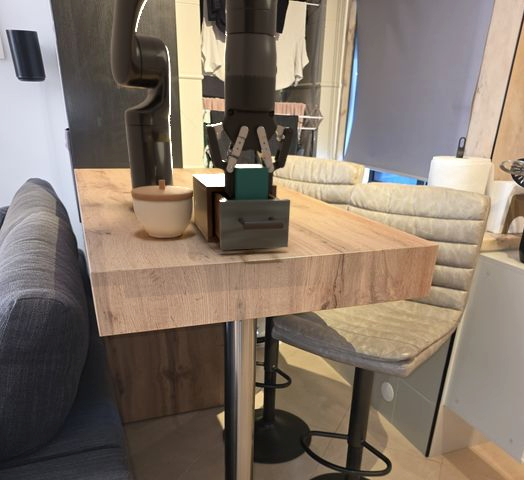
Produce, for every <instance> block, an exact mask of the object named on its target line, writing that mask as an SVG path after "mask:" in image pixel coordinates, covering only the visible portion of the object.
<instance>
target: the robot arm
mask: <svg viewBox="0 0 524 480" xmlns="http://www.w3.org/2000/svg"><path fill="white" fill-rule="evenodd" d="M278 1H279V0H225V35H226V36H225V44H224V54H223V55H224V56H223V63H224V65H223V69H224V72H223V74H224V75H223V76H224V113H223V118H222V119H221V120H222V121H221V122H220V123H216V124H207V125H205V126H204V129H203V131H204V135H205V139H206V144H207V147H208V151H209V155H210V160H211V164H212V166H214V167H215V168H217V169H220V170H222V171H223V174H224V185H225V186H224V189H225V192H226V193H227V194H228V195H229V197H230V198H235V173H234V168H235V165H236V164H237V162H238V160H239V158H240V155H241V153H242V152H247V151H250V150H251V151H254V152H257V155H258V157H259V160H260V164H261V165H263V166H265V167H267V168H269V172H268V197H269V193H271V192H272V190H273V184H274V173H275V171H277V170H279V169H283V168H285V166H286V164H287V163H286V162H287V160H288V155H289V152H290V148H291V145H292V140H293V136H294V132H295V131H294V128H293V127H289V126H282V125H279V124H278V122H277V120H276V116H275V112H276V91H277V90H276V89H277V75H278V66H277V65H278V55H277V38H276V37H277V18H278V17H277V16H278V15H277V14H278ZM146 2H147V0H114V7H113V8H114V9H113V20H112V29H111V37H110V39H111V41H110V70H111V74H112V77H113V80H114V81H115V83H116V84H117V85H118V86H119V87H122V88H129V89H144V90H145V89H146V90H147V96H146V97H145V99H144V100H143V101H142V102H140V103H138V104H137V105H135V106H132V107H129V108H127V109H125V111H124V124H125V134H126V142H127V143H126V144H127V152H128V161H129V172H130V182H131V183H130V184H131V190H132V189H135V188H138V187H145V186H159V180H165V186H174V173H173V156H172V154H173V153H172V141H171V140H172V139H171V126H170V125H171V124H170V121H171V120H170V118H171V117H170V115H171V63H170V55H169V50H168V47H167V45H166V42H165V41H164V39H163V38H161V37H159V36H154V35H148V34H139V33H137V30H138V29H137V28H138V23H139V20H140V16H141V14H142V10H143V9H144V6H145V4H146ZM222 132H224V134H225V135H226V137H227V139H228V140H229V145H228V148H227V152H226V157H225V160H223V158H222V154H221V150H220V145H219V140H221V137H222ZM275 134H276V140H277V141H278V143H277V147H276V150H275V154H274V157H273V158H274V159H273V158H272V152H271V148H270V145H269V142H270V140H271V139H272V137H273V136H274V135H275ZM132 207H133V209H134V206H133V205H132Z"/></svg>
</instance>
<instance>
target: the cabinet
mask: <svg viewBox="0 0 524 480" xmlns="http://www.w3.org/2000/svg"><path fill="white" fill-rule="evenodd" d="M224 186H225V185H224V173H218V174H217V173H215V174H212V173H210V174H207V173H203V174H201V173H200V174H199V173H198V174H197V173H196V174H192V190H193V218H194V220H193V221H194V224H195V225H196V227H197V228H198V230H199V232H200V233H201V234H202V236H203V237H204V238H205V240H206V241H207V243H211V242H212V243H213V242H215V243H216V242H217V243H218V242H220V239H219V238H218V236H217V235H216V234H215V233H214V231H213V227H212V192H225V189H224ZM277 190H278V185H277V184H274V183H273V190H272V192H271V193H270V194H272V195H273V196H275V197H277V193H278V191H277Z"/></svg>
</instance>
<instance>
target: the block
mask: <svg viewBox="0 0 524 480" xmlns="http://www.w3.org/2000/svg"><path fill="white" fill-rule="evenodd" d="M268 172H269V168H267V167H265V166H263V165H262V164H261V163H255V164H254V163H252V164H251V163H249V164H248V163H236V165H235V168H234V173H235V198H233V199H234V200H259V199H268Z"/></svg>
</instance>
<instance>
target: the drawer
mask: <svg viewBox="0 0 524 480" xmlns="http://www.w3.org/2000/svg"><path fill="white" fill-rule="evenodd" d="M290 212H291V200H290V199H289V198H279V197H278V196H276V197H275V196H273V195H272V194H270V193H269V197H268V199H259V200H234V199H233V198H230V197H229V195H228V194H227V193H226V192H212V227H213V231H214V233H215V234H216V235H217V236H218V238H219V239H220V241H219V249H220V250H221V251H228V250H229V251H230V250H231V251H232V250H250V249H251V250H252V249H273V248H288V246H289V230H290V214H291V213H290Z"/></svg>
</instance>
